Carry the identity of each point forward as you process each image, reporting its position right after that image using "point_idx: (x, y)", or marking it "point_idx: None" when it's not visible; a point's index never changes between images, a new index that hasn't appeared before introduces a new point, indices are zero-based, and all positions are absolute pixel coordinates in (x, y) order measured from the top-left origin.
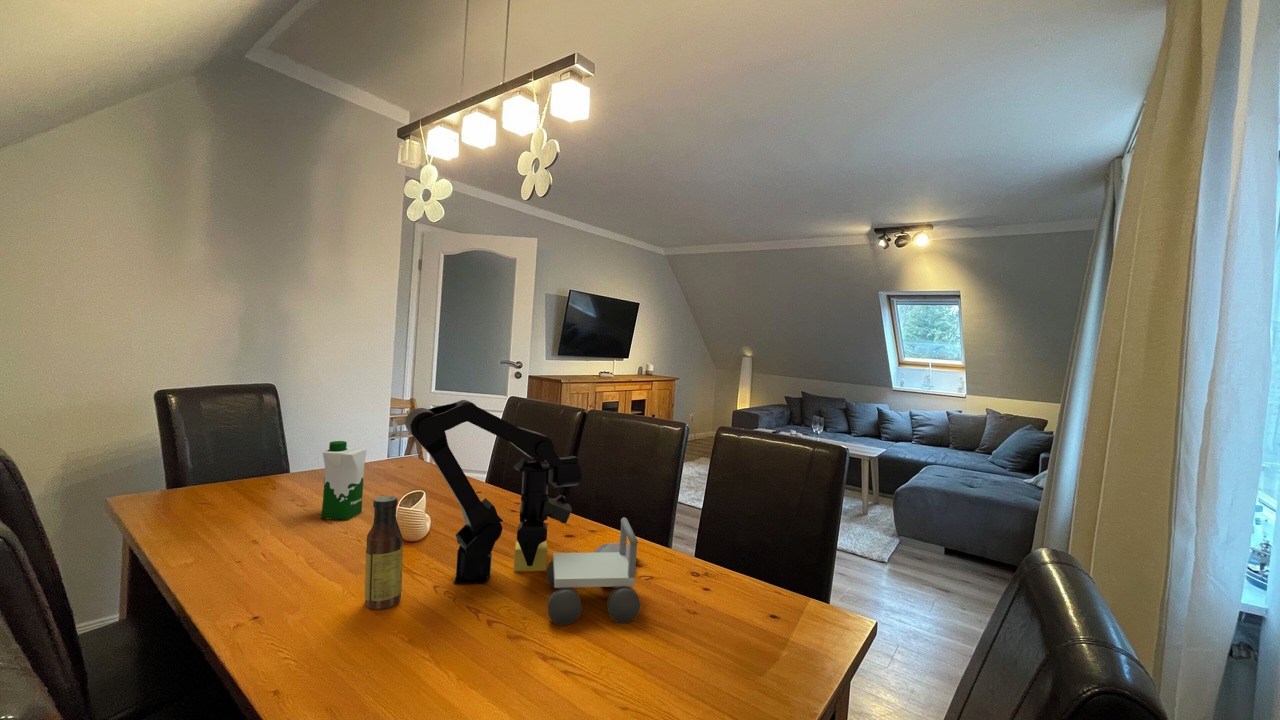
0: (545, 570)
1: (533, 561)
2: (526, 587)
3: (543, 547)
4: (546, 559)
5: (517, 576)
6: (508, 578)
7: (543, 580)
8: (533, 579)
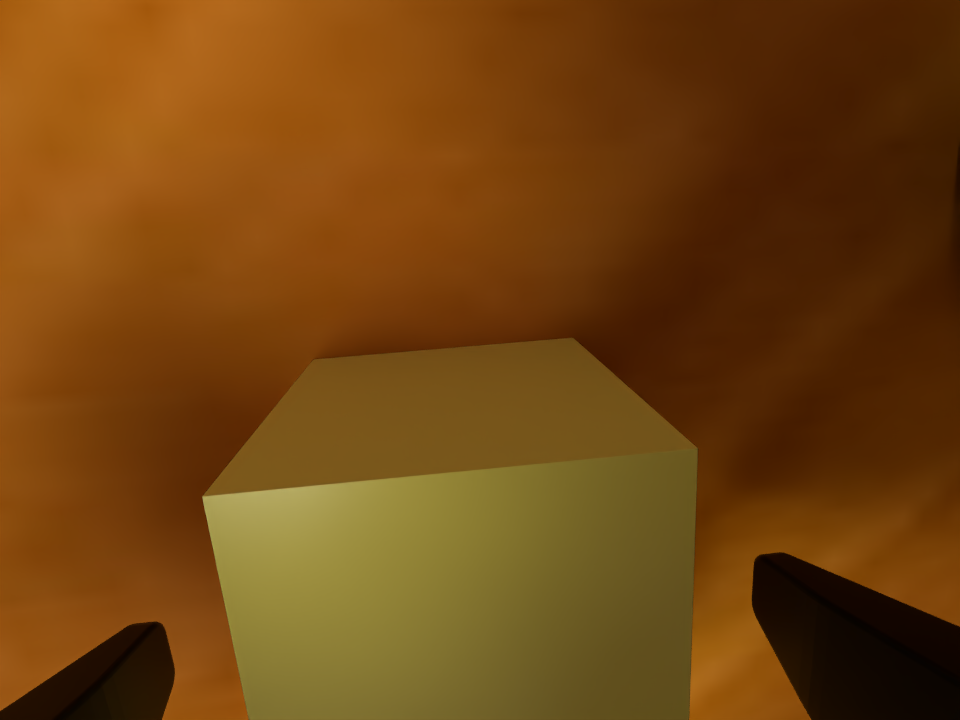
0: (574, 342)
1: (856, 583)
2: (953, 500)
3: (588, 537)
4: (616, 379)
5: (702, 615)
6: (739, 683)
7: (825, 344)
8: (787, 454)
